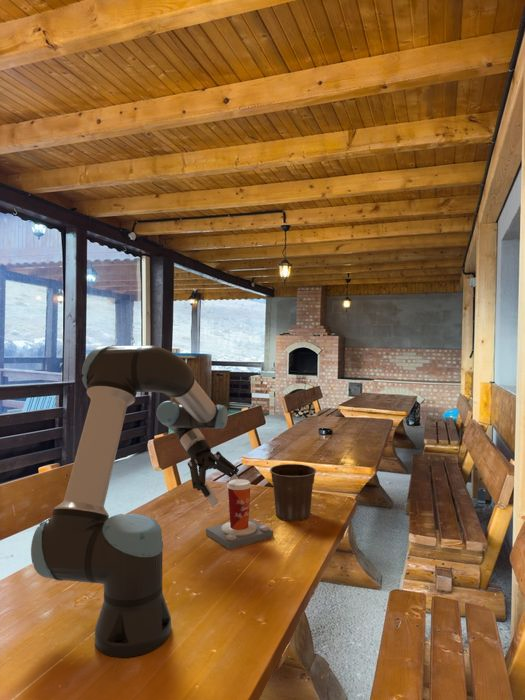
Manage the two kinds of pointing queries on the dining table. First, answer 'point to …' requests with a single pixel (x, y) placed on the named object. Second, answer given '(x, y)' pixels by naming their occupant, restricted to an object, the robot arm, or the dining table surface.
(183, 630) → the dining table surface
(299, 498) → the plant pot
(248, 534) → the grey flat block
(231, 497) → the paper cup
